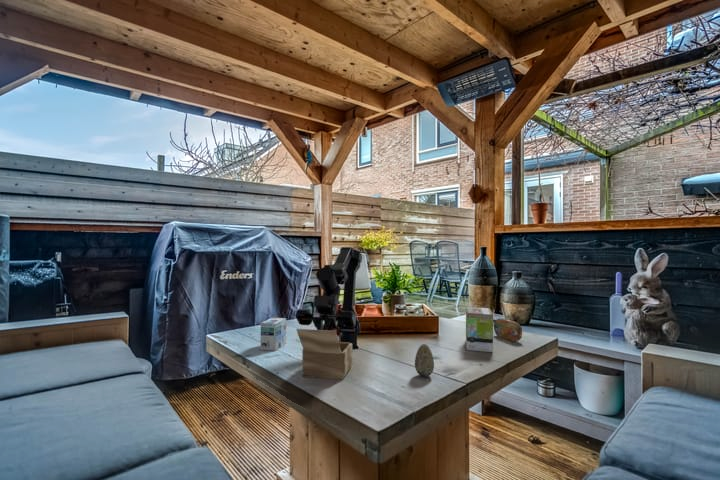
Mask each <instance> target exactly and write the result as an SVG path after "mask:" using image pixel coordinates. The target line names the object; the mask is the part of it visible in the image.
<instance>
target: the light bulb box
mask: <svg viewBox="0 0 720 480" xmlns="http://www.w3.org/2000/svg"><path fill="white" fill-rule="evenodd" d="M286 344H287V318H285V317H270V318H269V319H266V320H264V321H262V322H260V350H263V351H274V352H275V351H277V350H279V349H281V348H282V347H283V346H286Z"/></svg>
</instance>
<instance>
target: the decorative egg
mask: <svg viewBox="0 0 720 480" xmlns="http://www.w3.org/2000/svg"><path fill="white" fill-rule="evenodd" d="M414 358H415V359H414V367H415V371H416V372H417V374H418V375H419V376H421V377H423V378H427V377H429V376H431V375H432V374H433V372H434V370H435V359H434V356H433V352H432V350H431V348H430V347H429V346H428V344H426V343H422V344H420V346H418V349H417V351H416V354H415V357H414Z"/></svg>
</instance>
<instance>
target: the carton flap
mask: <svg viewBox="0 0 720 480" xmlns="http://www.w3.org/2000/svg"><path fill="white" fill-rule="evenodd" d="M296 333H297V336H298V337H299V342H300V344H301V346H302V350H304V352H318V353H334V354H341V349H340V345H339V336H338V333H337V330H332V331H330V330H317V329H309V328H308V329H306V328H305V329H304V328H296Z"/></svg>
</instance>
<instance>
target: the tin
mask: <svg viewBox="0 0 720 480" xmlns="http://www.w3.org/2000/svg"><path fill="white" fill-rule="evenodd" d="M493 332H494V333H495V335H496V336H497V337H498V338H500V339H503V340H506V341H509V342H512V343H513V342H519V341H520V340H521V339H522V337H523V329H522V325H520V323H519V322H518V321H513V320H509V319H506V318H497V319H495V321H494V322H493Z"/></svg>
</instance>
